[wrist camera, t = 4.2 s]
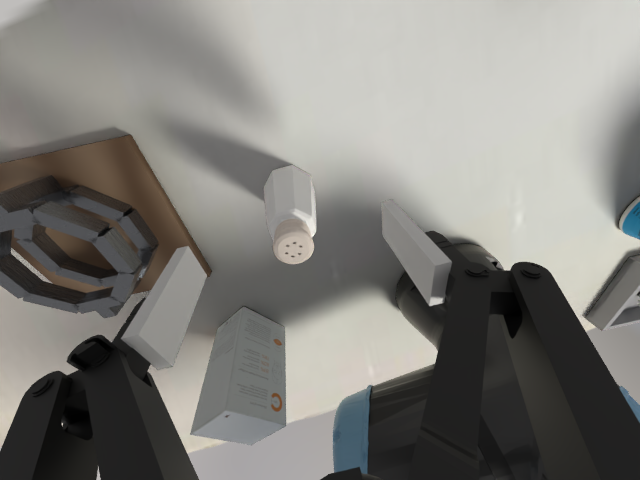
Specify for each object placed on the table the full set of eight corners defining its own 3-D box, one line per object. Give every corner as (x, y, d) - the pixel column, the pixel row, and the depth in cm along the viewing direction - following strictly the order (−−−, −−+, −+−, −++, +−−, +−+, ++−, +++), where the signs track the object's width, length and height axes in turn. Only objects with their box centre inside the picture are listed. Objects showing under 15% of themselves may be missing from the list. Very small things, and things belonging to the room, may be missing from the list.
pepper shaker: (264, 160, 23) (252, 209, 14) (318, 167, 24) (341, 217, 15) (262, 210, 26) (251, 279, 17) (311, 215, 27) (326, 281, 18)
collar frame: (104, 163, 20) (58, 182, 16) (180, 272, 27) (161, 305, 23) (-15, 189, 20) (-92, 216, 16) (92, 291, 27) (58, 328, 23)
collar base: (130, 134, 20) (124, 136, 19) (211, 271, 29) (209, 276, 28) (-53, 175, 20) (-67, 179, 19) (85, 299, 29) (79, 306, 28)
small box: (216, 327, 35) (187, 435, 24) (243, 304, 33) (224, 410, 22) (260, 346, 39) (251, 447, 28) (286, 326, 37) (288, 426, 26)
